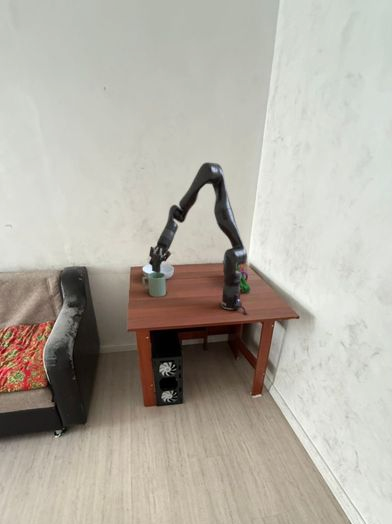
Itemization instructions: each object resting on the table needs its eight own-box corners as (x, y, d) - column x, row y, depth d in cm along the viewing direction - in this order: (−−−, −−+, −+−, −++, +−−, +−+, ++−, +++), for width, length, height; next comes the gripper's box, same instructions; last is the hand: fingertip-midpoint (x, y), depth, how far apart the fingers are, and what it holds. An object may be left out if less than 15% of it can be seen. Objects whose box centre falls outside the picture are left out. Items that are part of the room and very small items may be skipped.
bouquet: (233, 303, 185) (219, 275, 204) (257, 300, 188) (241, 273, 207) (239, 276, 170) (223, 249, 189) (265, 274, 174) (247, 248, 193)
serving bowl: (178, 281, 194) (178, 271, 190) (148, 286, 187) (147, 276, 182) (167, 270, 209) (167, 261, 205) (139, 274, 202) (138, 265, 198)
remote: (154, 269, 173) (153, 252, 167) (160, 271, 171) (159, 254, 165) (151, 271, 171) (150, 254, 165) (157, 272, 169) (156, 255, 163)
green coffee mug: (167, 290, 183) (166, 272, 176) (164, 297, 175) (163, 279, 168) (145, 288, 184) (144, 271, 177) (141, 295, 176) (139, 277, 169)
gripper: (153, 233, 168) (140, 259, 167) (173, 237, 162) (160, 265, 161) (159, 240, 175) (147, 266, 174) (178, 245, 169) (166, 271, 168)
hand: (153, 265), depth 167 cm, fingers closed on remote, 4 cm apart
